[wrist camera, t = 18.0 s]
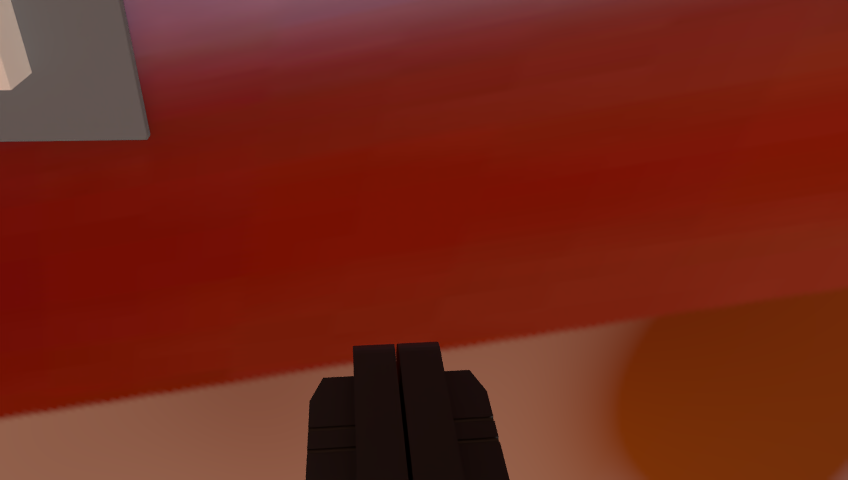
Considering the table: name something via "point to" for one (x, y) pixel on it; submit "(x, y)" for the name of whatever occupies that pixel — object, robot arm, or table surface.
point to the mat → (74, 75)
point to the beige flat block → (11, 49)
